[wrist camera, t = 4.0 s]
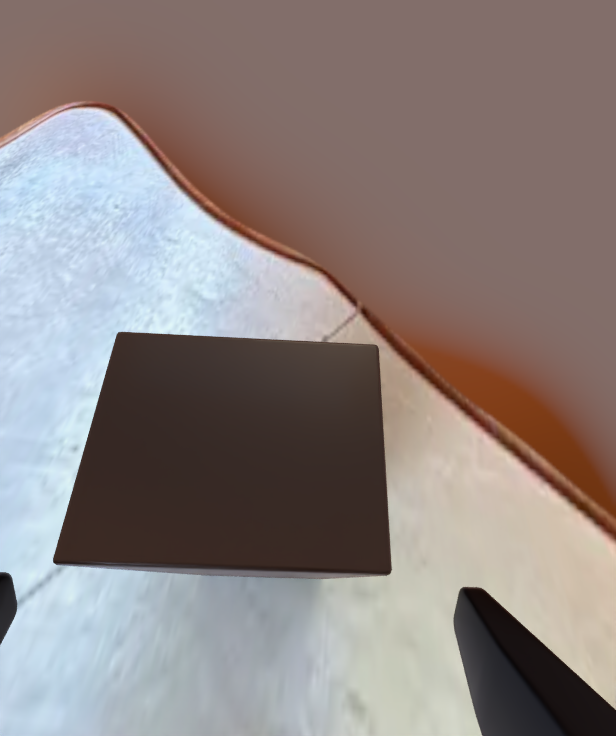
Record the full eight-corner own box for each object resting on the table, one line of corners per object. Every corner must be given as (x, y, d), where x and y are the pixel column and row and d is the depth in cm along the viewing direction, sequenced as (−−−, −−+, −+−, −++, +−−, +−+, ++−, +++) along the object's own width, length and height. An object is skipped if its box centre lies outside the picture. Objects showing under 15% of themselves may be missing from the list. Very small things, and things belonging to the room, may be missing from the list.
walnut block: (322, 579, 17) (393, 575, 6) (202, 575, 17) (48, 564, 6) (323, 481, 19) (379, 343, 8) (214, 477, 19) (116, 329, 8)
